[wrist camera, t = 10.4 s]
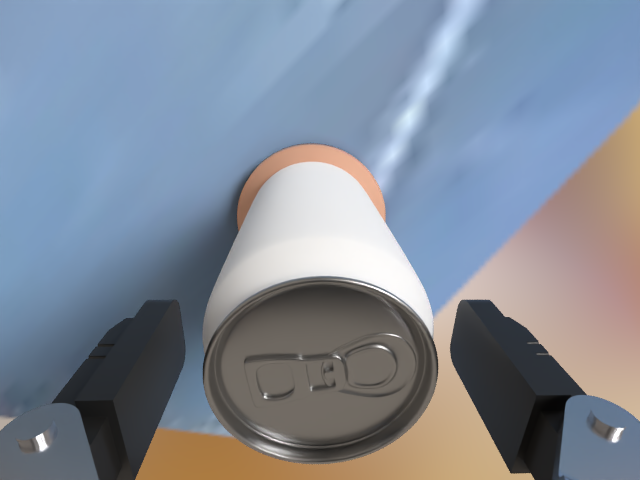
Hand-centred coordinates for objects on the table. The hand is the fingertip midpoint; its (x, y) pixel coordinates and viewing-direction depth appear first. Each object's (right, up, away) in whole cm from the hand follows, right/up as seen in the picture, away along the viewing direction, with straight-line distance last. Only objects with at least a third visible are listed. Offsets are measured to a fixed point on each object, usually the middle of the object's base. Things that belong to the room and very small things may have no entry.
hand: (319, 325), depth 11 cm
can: (0, +4, +9) cm, 10 cm away
